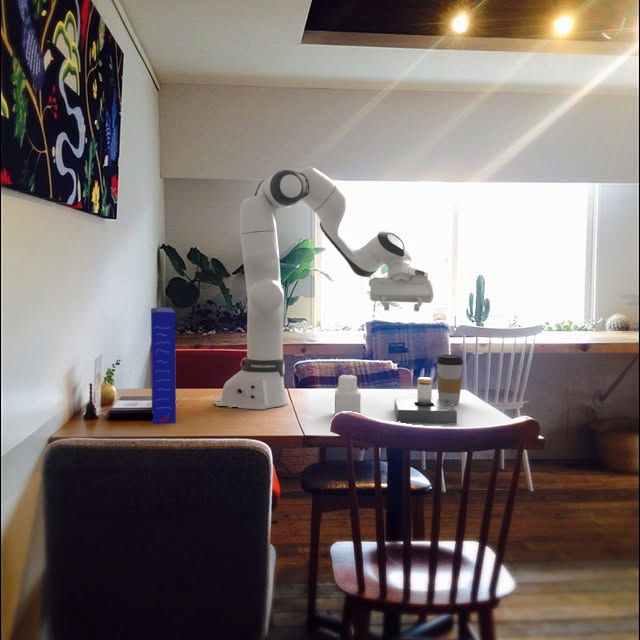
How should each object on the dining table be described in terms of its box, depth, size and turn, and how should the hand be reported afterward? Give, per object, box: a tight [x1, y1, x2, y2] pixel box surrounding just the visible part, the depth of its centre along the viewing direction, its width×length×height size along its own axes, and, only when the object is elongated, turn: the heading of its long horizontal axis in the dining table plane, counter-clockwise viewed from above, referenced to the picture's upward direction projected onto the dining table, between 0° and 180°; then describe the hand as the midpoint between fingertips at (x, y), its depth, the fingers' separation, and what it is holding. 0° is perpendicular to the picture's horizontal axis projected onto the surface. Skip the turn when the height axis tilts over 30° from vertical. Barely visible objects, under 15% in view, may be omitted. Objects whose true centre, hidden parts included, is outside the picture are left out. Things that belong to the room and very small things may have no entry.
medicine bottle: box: [334, 373, 362, 415], centre depth 174 cm, size 7×7×12 cm
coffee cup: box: [436, 354, 464, 405], centre depth 194 cm, size 8×8×15 cm
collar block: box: [393, 397, 458, 424], centre depth 175 cm, size 16×16×4 cm
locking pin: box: [416, 376, 433, 407], centre depth 175 cm, size 4×4×11 cm
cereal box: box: [150, 307, 177, 425], centre depth 172 cm, size 22×6×30 cm, turn 16°
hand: (401, 309), depth 192 cm, fingers open, 8 cm apart
